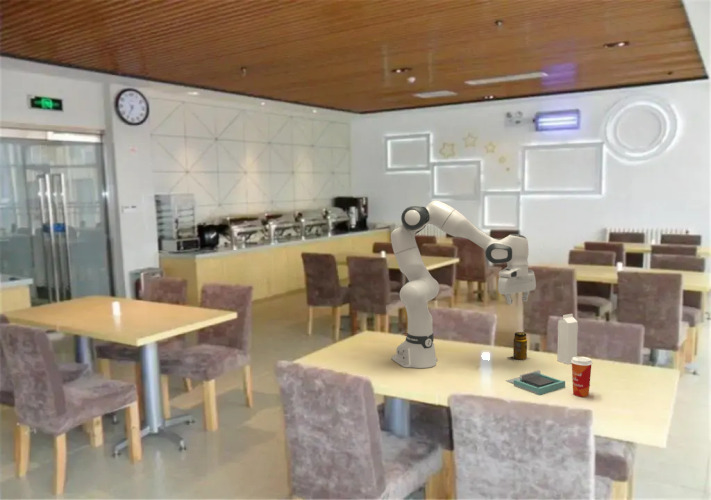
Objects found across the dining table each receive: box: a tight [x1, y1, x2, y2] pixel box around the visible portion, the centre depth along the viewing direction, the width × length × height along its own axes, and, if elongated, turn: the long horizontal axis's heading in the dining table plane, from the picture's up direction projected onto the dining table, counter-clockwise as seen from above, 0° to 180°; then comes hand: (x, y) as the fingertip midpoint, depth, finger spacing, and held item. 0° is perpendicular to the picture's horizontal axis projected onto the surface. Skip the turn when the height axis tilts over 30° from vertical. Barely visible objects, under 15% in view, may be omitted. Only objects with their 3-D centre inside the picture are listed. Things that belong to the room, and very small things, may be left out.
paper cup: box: [571, 356, 593, 398], centre depth 224 cm, size 8×8×14 cm
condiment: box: [506, 331, 531, 363], centre depth 271 cm, size 7×8×12 cm
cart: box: [519, 369, 554, 387], centre depth 234 cm, size 9×11×4 cm
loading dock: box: [505, 373, 566, 396], centre depth 236 cm, size 19×15×4 cm
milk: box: [556, 313, 579, 365], centre depth 264 cm, size 6×6×22 cm
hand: (517, 302), depth 256 cm, fingers open, 8 cm apart
